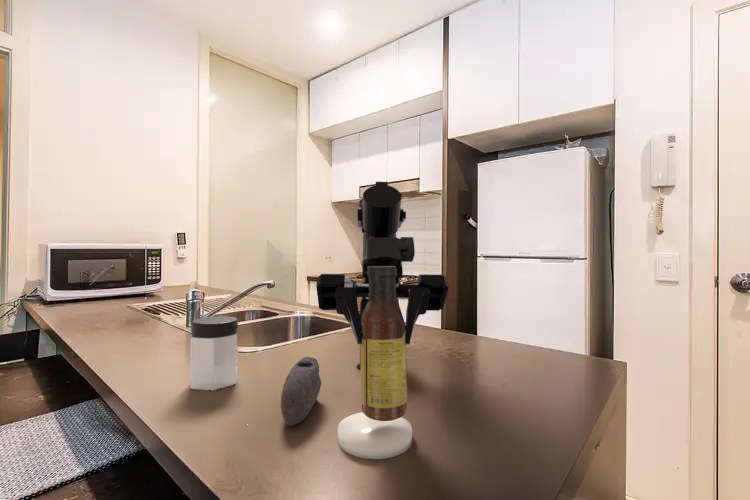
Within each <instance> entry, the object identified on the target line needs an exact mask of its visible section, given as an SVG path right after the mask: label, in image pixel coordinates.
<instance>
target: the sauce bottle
mask: <svg viewBox="0 0 750 500" xmlns="http://www.w3.org/2000/svg"><path fill="white" fill-rule="evenodd" d="M367 276H368V278H369V294H368V296H369V299H368V302H367V305H366V307H365V308H364V310H363V312H362V314H361V344H359V358H360V357H361V368H360V402H361V407H360V408H361V412H363V413H364V414H365V415H366V416H367V417H369V418H370V419H373V420H377V421H392V420H395V419H398V418H400V417H402V418H403V416H405V414H406V412H407V401H408V386H407V385H408V379H407V378H408V377H407V376H408V373H407V371H408V369H407V366H408V364H407V363H408V362H407V344H406V321H405V319H404V316H403V314H402V309H401V307H400V303H399V301H398V300H399V299H397V297H396V296H397V295H396V277H397V267H396V266H369V267H367Z"/></svg>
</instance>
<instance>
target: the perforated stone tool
mask: <svg viewBox="0 0 750 500" xmlns="http://www.w3.org/2000/svg"><path fill="white" fill-rule="evenodd" d="M319 373H320V365H319V362H318V360H317V359H316V358H314V357H312V356H304V357H302V358H301V359H299V360H298V361H297V362H296V363H295V364H294V365H293V367H292V368H291V369H290V371H289V372H288V373H287V376H286V378H285V380H284V381H285V382H284V383H283V386H282V389H281V390H282V391H281V395H280V397H281V398H280V409H281V410H280V411H281V415H282V418H283V420H284V422H285V424H286V425H287V426H288V427H293V426H296V425H298V424H300V423H301V422H302V421H303V420H304V419H306V417H307V416H308V414H309V413H310V411H311V410H312V408H313V406H314V405H315V403H316V401H317V399H318V396H319V393H320V391H321V387H322V379H321V376H320V374H319Z"/></svg>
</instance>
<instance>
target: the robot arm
mask: <svg viewBox="0 0 750 500" xmlns="http://www.w3.org/2000/svg"><path fill="white" fill-rule="evenodd" d="M402 195H403V194H402V192H400V191H399V190H398V189H397V188H396V187H394V186H391V185H389V181H375V185H372V186H370V187H368V188H366V189H365V190H364V192H363V193H362V198H361V199H359V202H358V208H357V227H358V228H361V233H362V234H363V235H362V263H361V264H362V267H361V269H362V275H361V276H362V277H361V278H362V282H361V281H360V282H356V281H354V280H353V279H350V278H348V279H346V273H321V274H320V275H319V276H317V278H316V286H315V287H316V295H317V302H318V309H320V310H322V311H336V313H337V314H338V315H343V316H344V317H345V319H346V321H347V322H348V325H349V326H350V329H351V330H352V333H353V336H354V338H355V341H356V342H357V345H360V344H361V314H362V312H363V310H364V308H365V307H366V305H367V302H368V299H369V296H368V294H369V278H368V276H367V267H369V266H396V267H397V277H396V295H397V296H396V297H397V300H407V306H406V312H405V315H406V316H405V325H406V345H410V343H411V339H412V335H413V332H414V327H415V324H416V323H417V321H418V318H419V316H420V315H425V314H427V312H428V311H431V312H432V311H440V310H442V309H444V306H445V303H446V298H447V295H448V291H449V288H450V287H449V283H448V279H447V277H446V276H445V275H444V274H439V273H438V274H435V273H434V274H433V273H432V274H431V273H430V274H429V273H428V274H427V273H425V274H422V273H420V274H418V280H417V283H416V284H401V279H402V278H403V272H404V271H403V263H405V262H406V263H412V262H413V261H414V259H415V255H416V254H415V251H416V250H415V240H414V237H413V236H401V237H400V238H399V237H397V232H398V230H399V229H400V228H401V227H402V224H403V223H404V222H405V221H406V219H407V211H404V209H403V208H401V206H402V205H401V204H402ZM358 298H361V300H360V303H359V304H360V305H359V304H358ZM359 307H360V308H359ZM356 368H357V369H361V357H360V356H359V363H358V364H356Z"/></svg>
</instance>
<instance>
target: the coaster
mask: <svg viewBox="0 0 750 500" xmlns="http://www.w3.org/2000/svg"><path fill="white" fill-rule="evenodd" d="M412 442H413V427H412V425H411V423H410V422H409V421H408V420H407V419H405V418H404V417H403V416H402V417H400V418H398V419H395V420H392V421H377V420H373V419H370V418H369V417H367V416H366V415H365V414H364V413H363V411H361V412H357V413H354V414H351V415H349V416H348V415H347V417H345V418H343V419H342V420H341V421H340V422H339V423H338V424H337V444H338V446H339V447H340V449H341V450H343V452H345V453H347V454H349V455H351V456H353V457H357V458H362V459H368V460H383V459H390V458H394V457H397V456H399V455H401V454H403V453H405V452H407V451H408V450H409V449H410V447H411V445H412Z"/></svg>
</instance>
